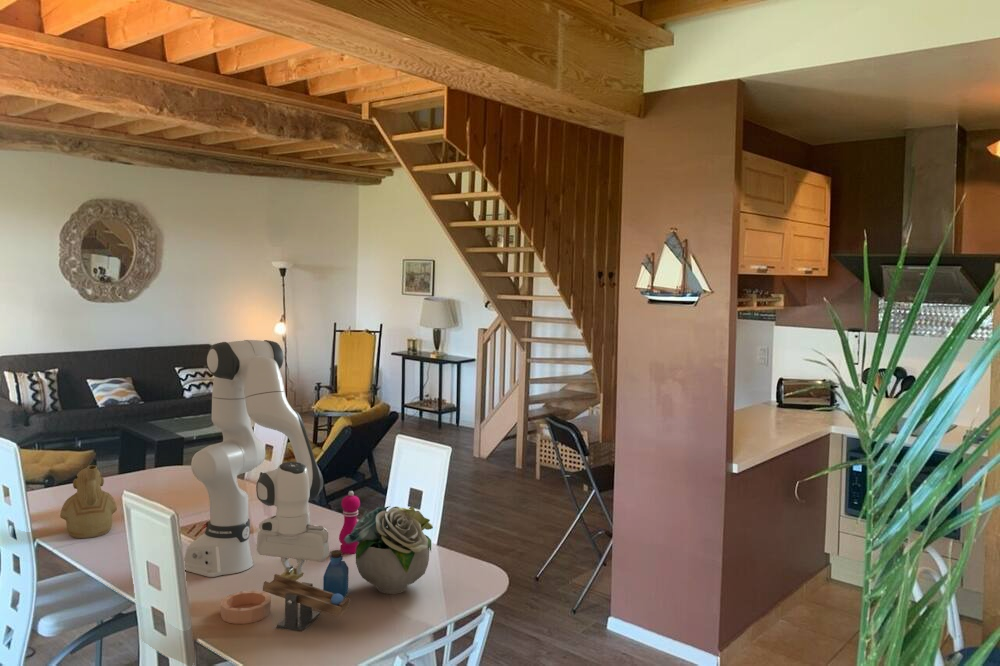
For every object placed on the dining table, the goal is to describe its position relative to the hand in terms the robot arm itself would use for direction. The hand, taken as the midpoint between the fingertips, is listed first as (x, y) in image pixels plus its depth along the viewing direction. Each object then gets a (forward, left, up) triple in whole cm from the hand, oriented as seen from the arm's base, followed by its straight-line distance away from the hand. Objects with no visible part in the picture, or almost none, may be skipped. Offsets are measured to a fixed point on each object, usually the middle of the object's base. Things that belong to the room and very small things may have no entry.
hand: (293, 573), depth 202 cm
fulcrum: (+6, -8, -9) cm, 14 cm away
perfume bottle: (+7, +11, -9) cm, 16 cm away
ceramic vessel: (-95, +30, -9) cm, 100 cm away
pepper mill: (-4, +43, -9) cm, 44 cm away
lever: (+8, -4, -3) cm, 10 cm away
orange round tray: (-9, -8, -9) cm, 15 cm away
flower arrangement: (+21, +19, -9) cm, 30 cm away
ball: (+17, -8, -2) cm, 19 cm away
